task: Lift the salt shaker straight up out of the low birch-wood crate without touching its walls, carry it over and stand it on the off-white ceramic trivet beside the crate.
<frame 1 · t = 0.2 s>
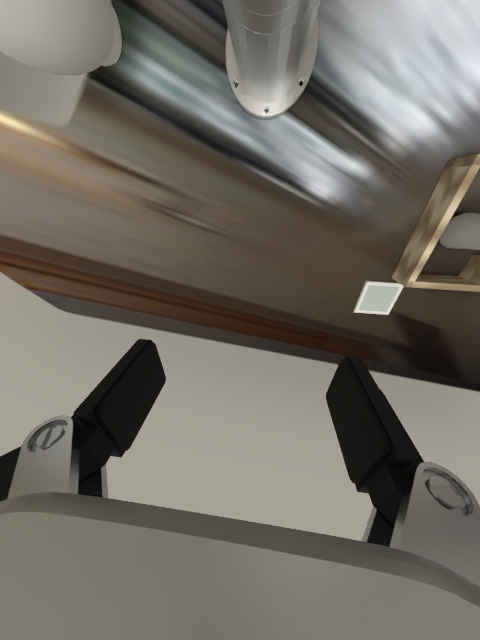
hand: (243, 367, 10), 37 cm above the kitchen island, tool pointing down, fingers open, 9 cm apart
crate: (455, 229, 35), on the kitchen island
salt shaker: (448, 229, 36), resting in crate
trivet: (376, 297, 44), on the kitchen island
lamp: (99, 30, 27), on the kitchen island
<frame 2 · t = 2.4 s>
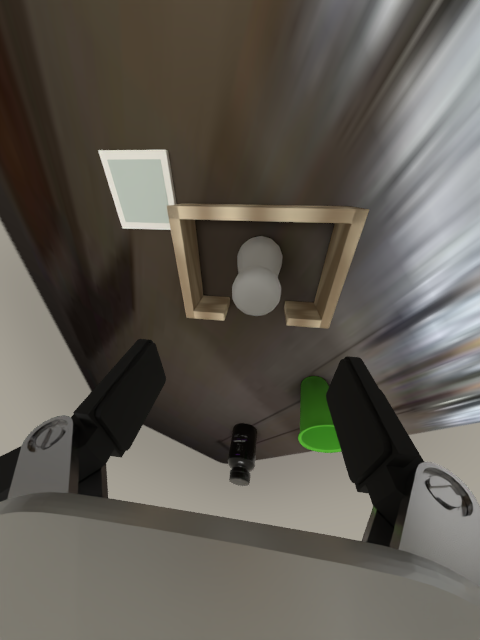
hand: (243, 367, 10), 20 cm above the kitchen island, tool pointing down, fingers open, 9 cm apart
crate: (259, 262, 27), on the kitchen island
salt shaker: (260, 254, 26), resting in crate
trivet: (144, 193, 24), on the kitchen island
cup: (313, 383, 40), on the kitchen island
supplement bottle: (244, 428, 54), on the kitchen island
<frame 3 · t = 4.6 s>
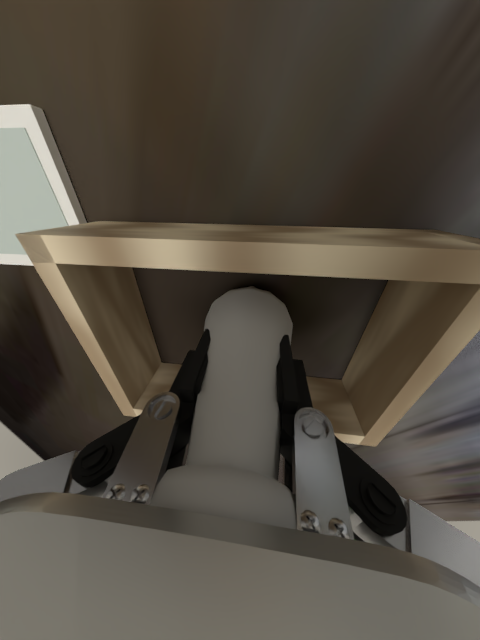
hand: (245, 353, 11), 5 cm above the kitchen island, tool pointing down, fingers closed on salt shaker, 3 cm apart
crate: (250, 321, 15), on the kitchen island
salt shaker: (250, 309, 15), resting in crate, touching gripper
trivet: (21, 201, 12), on the kitchen island
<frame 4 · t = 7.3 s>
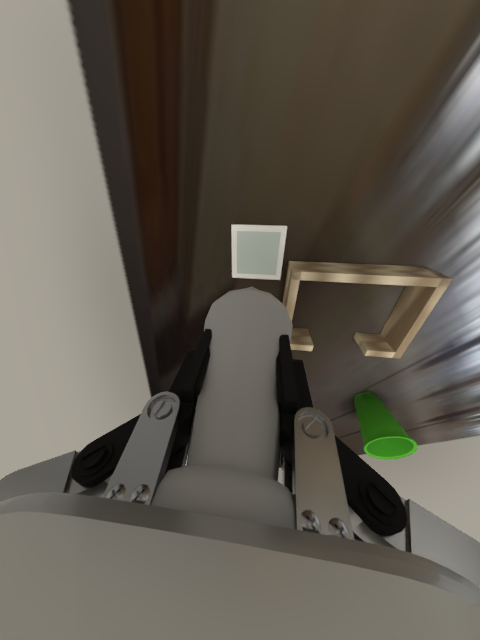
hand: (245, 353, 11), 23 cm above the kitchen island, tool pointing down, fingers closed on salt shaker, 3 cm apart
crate: (340, 303, 33), on the kitchen island
salt shaker: (250, 310, 15), point 18 cm above the kitchen island, touching gripper
trivet: (257, 253, 30), on the kitchen island
cup: (364, 397, 46), on the kitchen island
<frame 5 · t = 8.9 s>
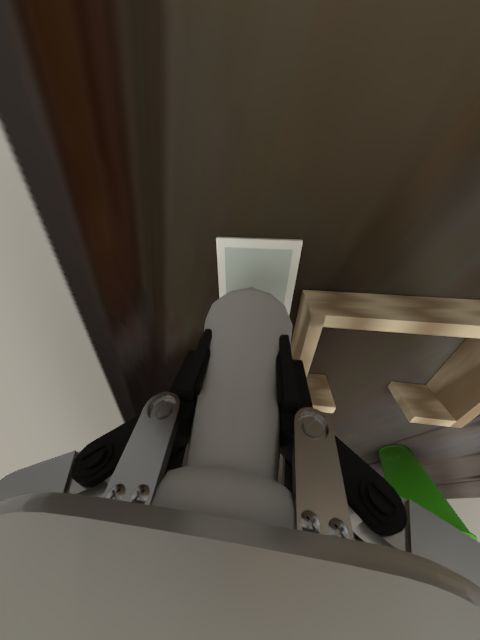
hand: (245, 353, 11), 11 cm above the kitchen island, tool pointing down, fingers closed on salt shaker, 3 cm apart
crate: (374, 346, 23), on the kitchen island
salt shaker: (250, 310, 15), point 6 cm above the kitchen island, touching gripper
trivet: (256, 278, 20), on the kitchen island
cup: (392, 450, 36), on the kitchen island
when the fingers open (6 cm above the kitchen island, at t = 10.0 s): salt shaker stays where it is, resting on trivet.
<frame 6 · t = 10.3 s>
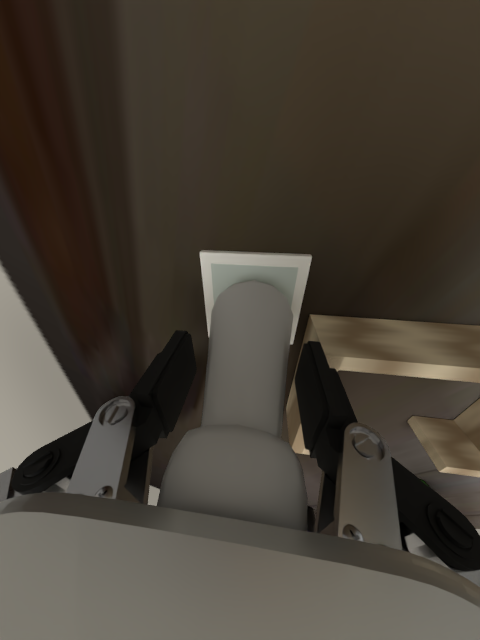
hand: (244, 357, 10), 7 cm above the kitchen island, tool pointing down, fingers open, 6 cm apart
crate: (395, 379, 19), on the kitchen island
salt shaker: (253, 302, 16), resting on trivet
trivet: (252, 300, 16), on the kitchen island
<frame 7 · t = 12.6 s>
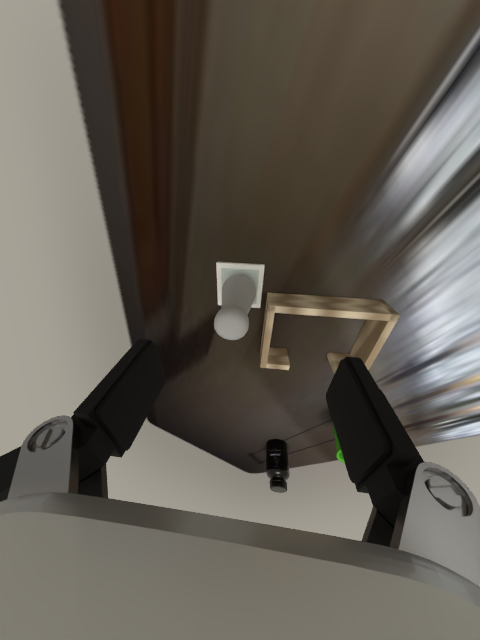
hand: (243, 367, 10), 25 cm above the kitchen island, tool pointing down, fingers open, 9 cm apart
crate: (314, 328, 37), on the kitchen island
salt shaker: (240, 286, 33), resting on trivet
trivet: (239, 285, 34), on the kitchen island
supplement bottle: (276, 443, 63), on the kitchen island
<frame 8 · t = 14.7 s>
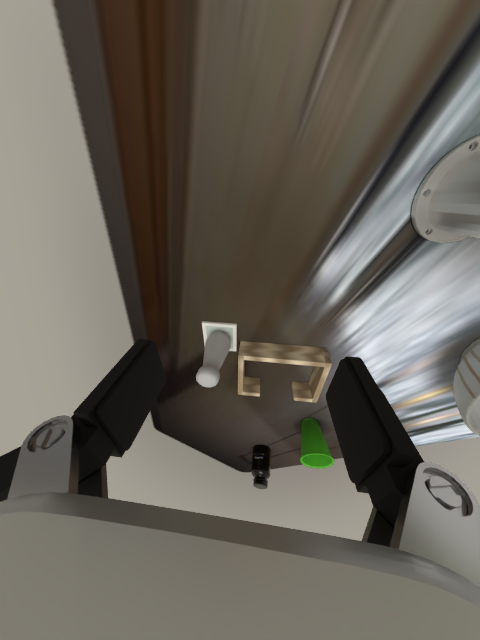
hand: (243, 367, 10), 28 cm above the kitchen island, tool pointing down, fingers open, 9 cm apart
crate: (278, 364, 49), on the kitchen island
salt shaker: (220, 337, 45), resting on trivet
trivet: (220, 336, 46), on the kitchen island
cup: (309, 421, 61), on the kitchen island
supplement bottle: (261, 447, 75), on the kitchen island
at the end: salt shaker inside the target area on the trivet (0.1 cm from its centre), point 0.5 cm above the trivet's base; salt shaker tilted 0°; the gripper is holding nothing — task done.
